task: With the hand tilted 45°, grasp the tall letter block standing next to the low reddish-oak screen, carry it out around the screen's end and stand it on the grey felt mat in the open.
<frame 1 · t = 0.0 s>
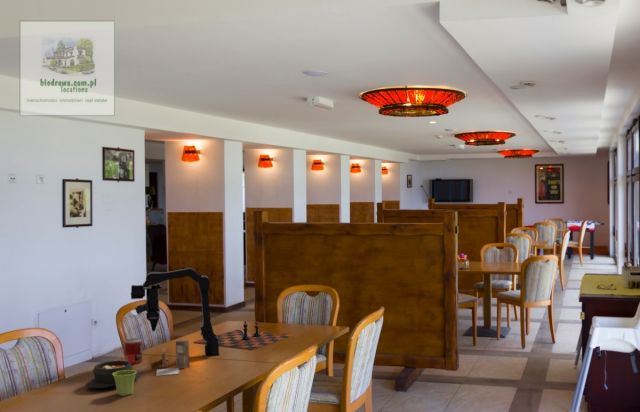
hand: (153, 329, 335), 15 cm above the table, tool pointing down, fingers open, 9 cm apart
canned food: (134, 362, 330), on the table
felt mat: (167, 372, 310), on the table
letter block: (183, 367, 318), on the table
casserole: (113, 384, 293), on the table
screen: (164, 363, 326), on the table
plant pot: (125, 394, 278), on the table
chessboard: (245, 340, 376), on the table
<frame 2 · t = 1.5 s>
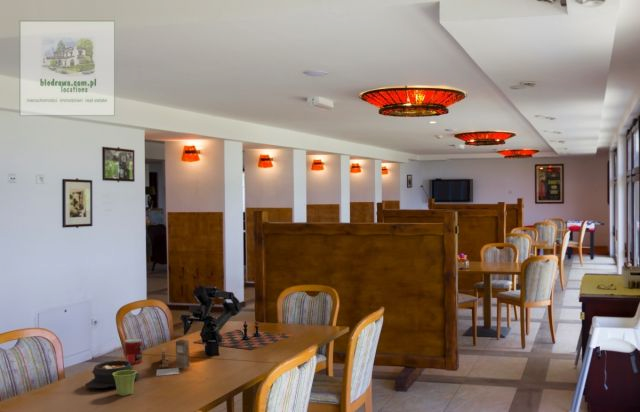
hand: (192, 335, 325), 13 cm above the table, tool tilted 45°, fingers open, 9 cm apart
nothing on the table moved.
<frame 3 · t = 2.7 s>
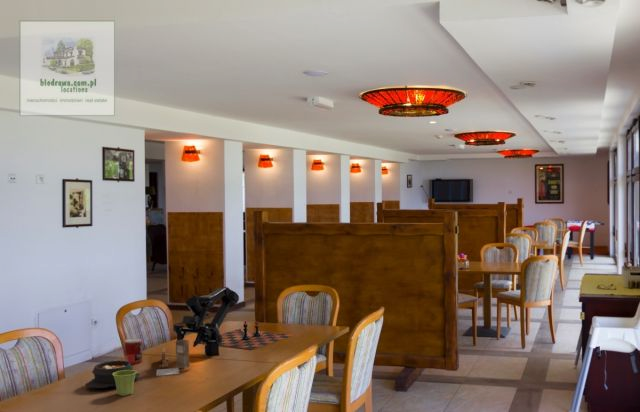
hand: (185, 346, 320), 9 cm above the table, tool tilted 45°, fingers open, 9 cm apart
nothing on the table moved.
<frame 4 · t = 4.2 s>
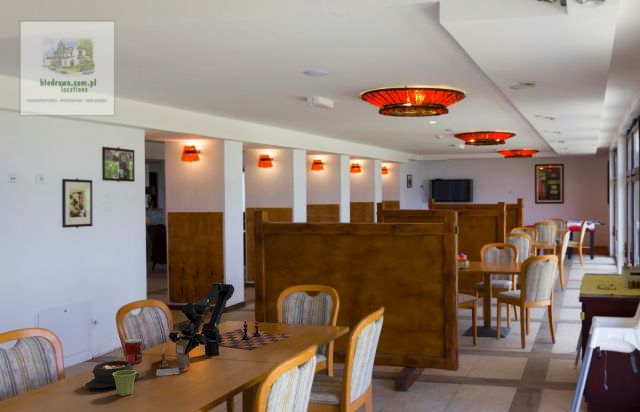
hand: (180, 353, 317), 7 cm above the table, tool tilted 45°, fingers closed on letter block, 4 cm apart
letter block: (183, 367, 318), on the table, touching gripper
everything else where it was.
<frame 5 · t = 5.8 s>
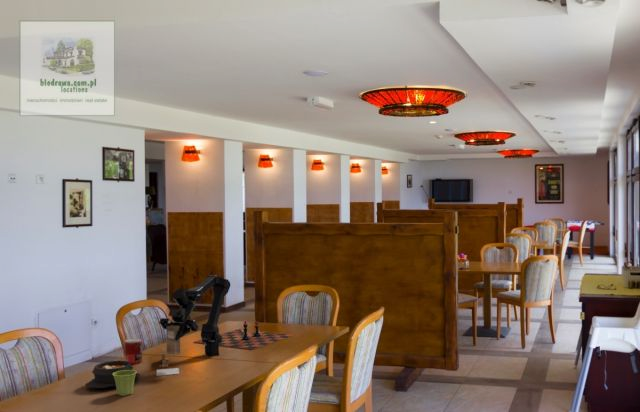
hand: (171, 339, 311), 14 cm above the table, tool tilted 45°, fingers closed on letter block, 4 cm apart
letter block: (173, 353, 313), point 8 cm above the table, touching gripper
everything else where it was.
when the fingers open (8 cm above the table, at t = 7.5 s): letter block stays where it is, resting on felt mat.
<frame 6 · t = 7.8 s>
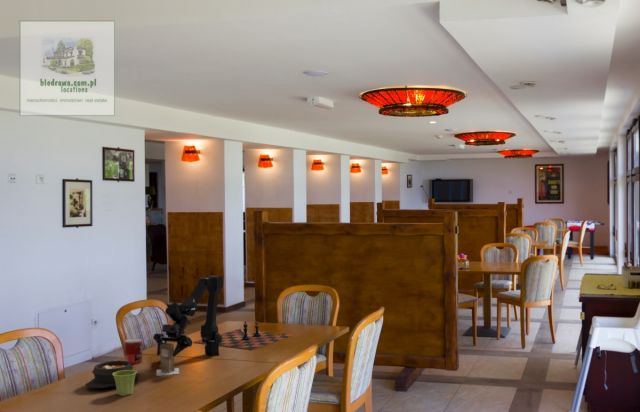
hand: (165, 355, 308), 8 cm above the table, tool tilted 45°, fingers open, 8 cm apart
letter block: (167, 371, 310), resting on felt mat
everything else where it was.
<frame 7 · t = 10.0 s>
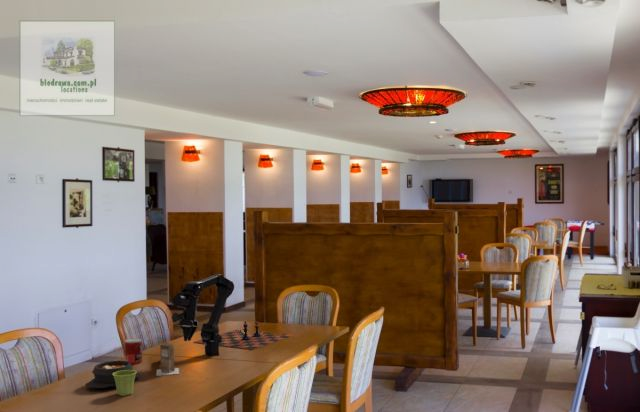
hand: (187, 341, 326), 11 cm above the table, tool pointing down, fingers open, 9 cm apart
nothing on the table moved.
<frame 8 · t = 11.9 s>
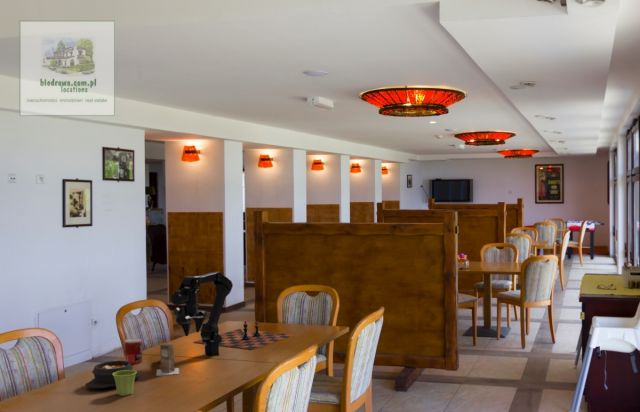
hand: (192, 334, 330), 13 cm above the table, tool pointing down, fingers open, 9 cm apart
nothing on the table moved.
at the end: letter block inside the target area (0.0 cm from its centre), resting on felt mat; letter block tilted 0°; the gripper is holding nothing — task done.
